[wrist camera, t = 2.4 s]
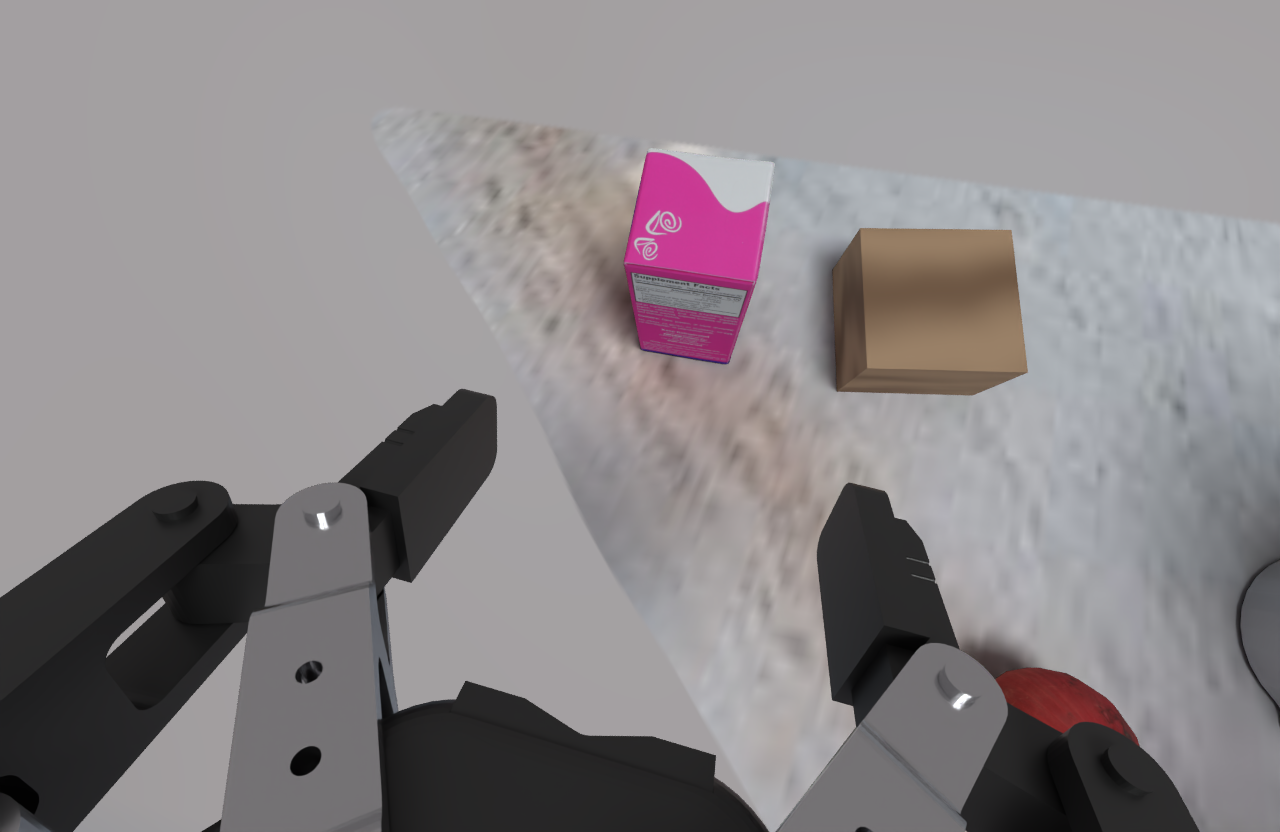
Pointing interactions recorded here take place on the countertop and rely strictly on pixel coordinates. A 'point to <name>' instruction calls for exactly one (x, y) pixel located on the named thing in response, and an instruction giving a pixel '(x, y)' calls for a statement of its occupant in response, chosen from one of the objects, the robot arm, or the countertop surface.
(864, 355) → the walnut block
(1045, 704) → the pomegranate
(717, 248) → the supplement box
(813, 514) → the countertop surface
